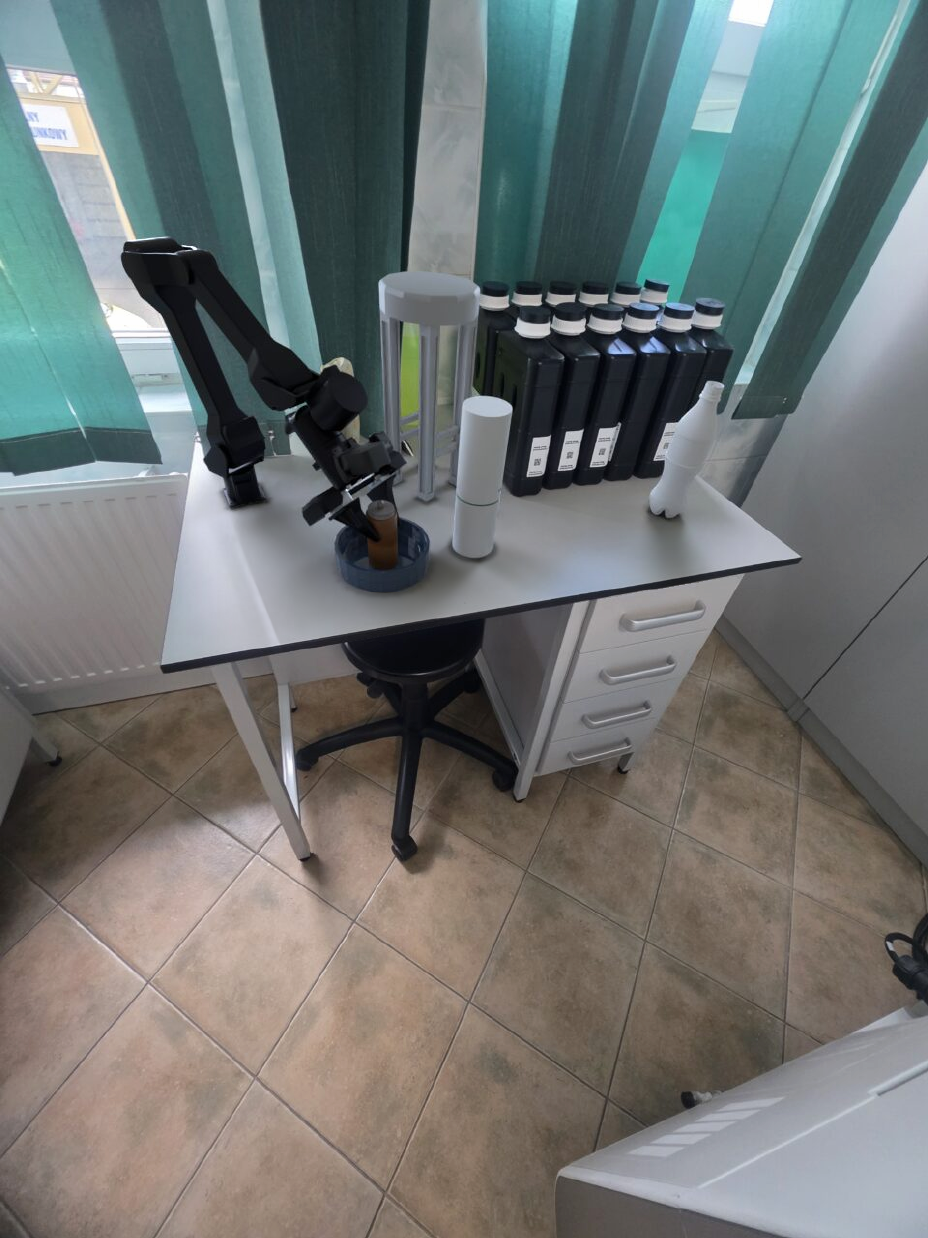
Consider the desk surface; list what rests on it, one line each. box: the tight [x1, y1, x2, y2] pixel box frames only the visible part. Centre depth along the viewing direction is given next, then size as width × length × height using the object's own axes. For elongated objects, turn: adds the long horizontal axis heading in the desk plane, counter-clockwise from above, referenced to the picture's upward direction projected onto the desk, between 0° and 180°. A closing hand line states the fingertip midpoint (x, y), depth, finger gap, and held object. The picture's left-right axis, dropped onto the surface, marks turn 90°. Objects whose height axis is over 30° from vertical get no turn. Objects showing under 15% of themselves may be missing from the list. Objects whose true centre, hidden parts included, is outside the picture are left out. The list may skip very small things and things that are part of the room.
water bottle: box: [648, 380, 725, 519], centre depth 94 cm, size 7×7×25 cm
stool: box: [378, 270, 481, 502], centre depth 92 cm, size 16×16×35 cm
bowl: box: [333, 516, 431, 593], centre depth 83 cm, size 15×15×4 cm
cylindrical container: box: [452, 395, 513, 559], centre depth 81 cm, size 7×7×25 cm
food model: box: [319, 356, 361, 445], centre depth 100 cm, size 10×7×20 cm
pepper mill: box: [364, 500, 398, 570], centre depth 80 cm, size 5×5×12 cm
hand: (388, 533), depth 79 cm, fingers closed on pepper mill, 5 cm apart
